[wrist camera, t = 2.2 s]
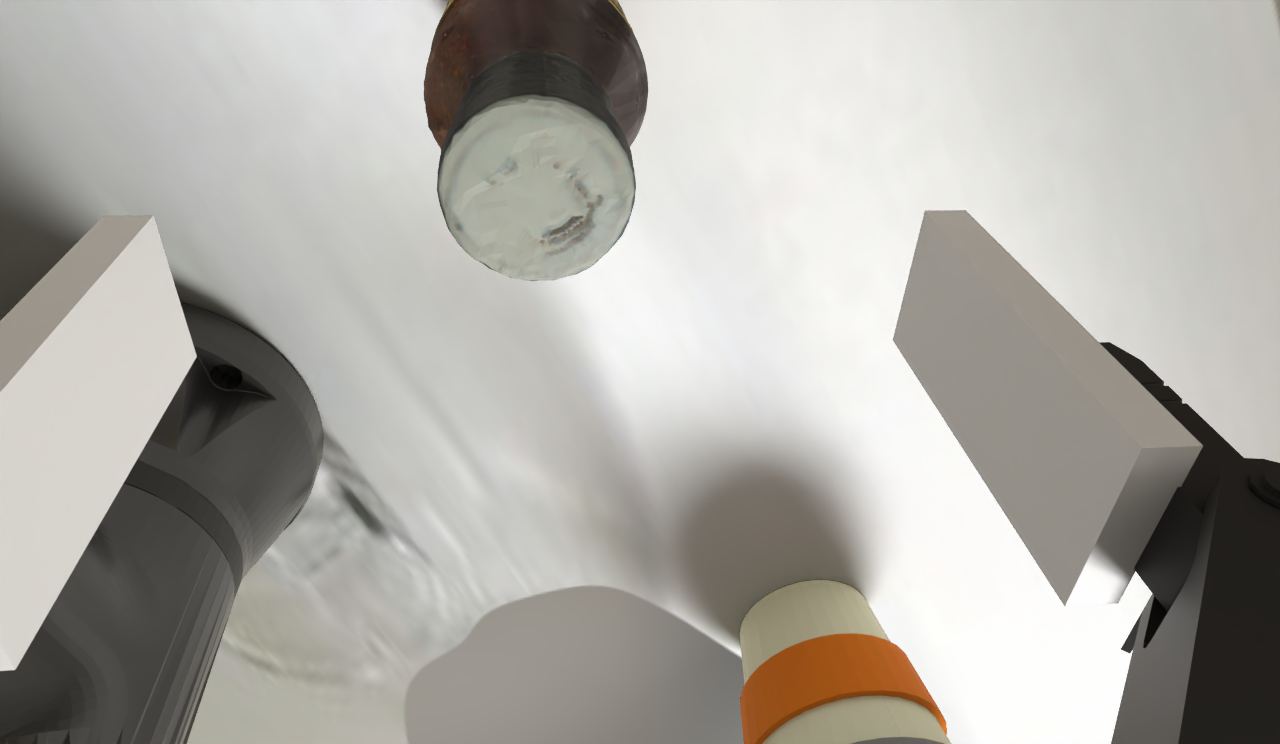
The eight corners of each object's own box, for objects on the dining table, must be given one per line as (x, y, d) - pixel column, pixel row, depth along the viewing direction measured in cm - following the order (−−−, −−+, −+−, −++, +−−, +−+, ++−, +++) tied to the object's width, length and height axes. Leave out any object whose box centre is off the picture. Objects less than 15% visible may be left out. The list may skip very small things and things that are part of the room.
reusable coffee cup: (682, 666, 59) (724, 899, 46) (767, 543, 53) (840, 773, 40) (835, 693, 63) (910, 914, 50) (930, 581, 56) (1042, 802, 44)
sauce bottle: (617, 86, 36) (695, 340, 19) (467, 96, 35) (418, 365, 19) (609, -90, 32) (696, 43, 16) (441, -82, 31) (351, 65, 15)
